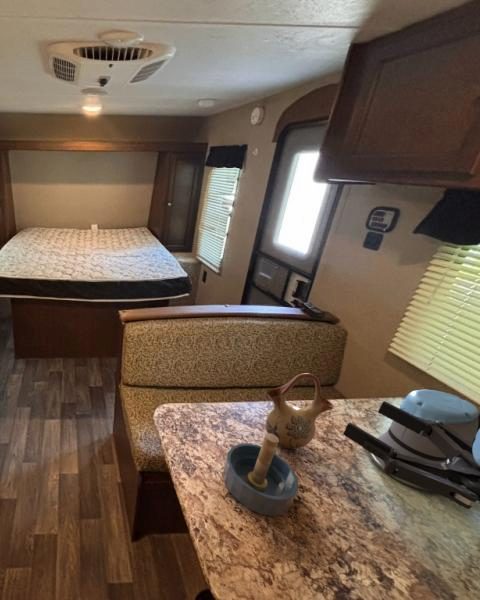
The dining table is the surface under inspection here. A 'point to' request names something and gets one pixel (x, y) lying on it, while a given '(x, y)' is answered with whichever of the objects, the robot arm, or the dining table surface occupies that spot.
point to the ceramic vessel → (295, 415)
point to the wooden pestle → (263, 463)
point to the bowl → (278, 479)
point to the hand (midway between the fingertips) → (364, 416)
